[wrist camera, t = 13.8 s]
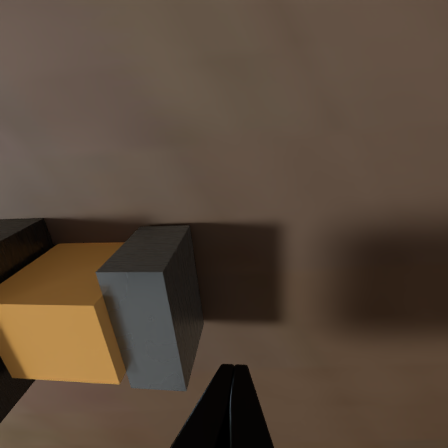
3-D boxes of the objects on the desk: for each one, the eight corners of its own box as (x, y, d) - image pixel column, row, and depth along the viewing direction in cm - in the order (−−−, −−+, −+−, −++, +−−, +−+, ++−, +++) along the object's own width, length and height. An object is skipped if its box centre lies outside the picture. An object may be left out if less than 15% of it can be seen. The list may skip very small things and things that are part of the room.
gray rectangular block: (203, 323, 15) (186, 391, 12) (161, 322, 16) (131, 387, 12) (189, 225, 13) (162, 272, 10) (139, 226, 14) (95, 272, 10)
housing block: (160, 303, 16) (119, 384, 11) (80, 302, 17) (12, 377, 12) (147, 241, 14) (93, 305, 10) (59, 242, 15) (-29, 303, 10)
